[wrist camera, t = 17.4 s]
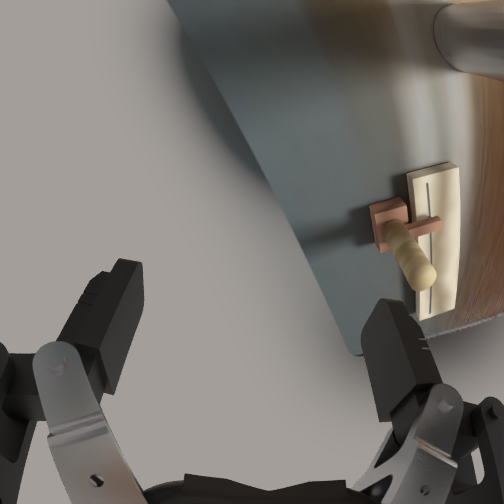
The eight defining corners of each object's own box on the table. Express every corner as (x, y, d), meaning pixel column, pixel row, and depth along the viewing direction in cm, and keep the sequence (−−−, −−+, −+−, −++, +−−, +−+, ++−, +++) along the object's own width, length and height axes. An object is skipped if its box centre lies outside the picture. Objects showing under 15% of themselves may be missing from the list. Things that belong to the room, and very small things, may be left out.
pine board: (450, 161, 35) (458, 167, 33) (450, 300, 48) (454, 308, 46) (406, 173, 36) (412, 179, 34) (415, 312, 50) (419, 321, 48)
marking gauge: (426, 189, 37) (474, 240, 27) (428, 226, 40) (470, 282, 30) (368, 205, 39) (403, 263, 29) (375, 242, 42) (405, 305, 32)
